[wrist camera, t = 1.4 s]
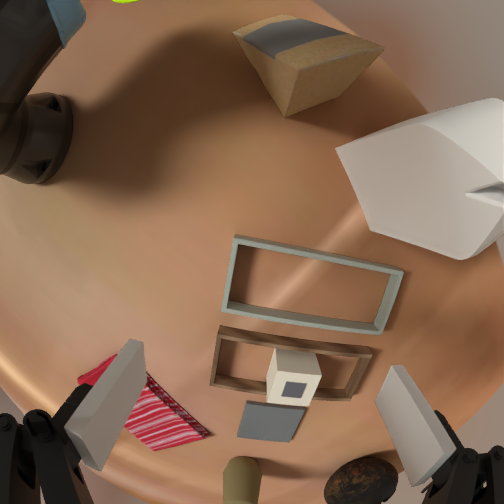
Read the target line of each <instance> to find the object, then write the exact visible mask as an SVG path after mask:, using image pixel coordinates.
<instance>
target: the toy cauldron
mask: <svg viewBox="0 0 504 504" xmlns="http://www.w3.org/2000/svg"><path fill="white" fill-rule="evenodd" d="M112 1H114V2H117V3H131V2H135V1H139V0H112Z"/></svg>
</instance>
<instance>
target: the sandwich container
mask: <svg viewBox="0 0 504 504" xmlns="http://www.w3.org/2000/svg"><path fill="white" fill-rule="evenodd" d="M232 33H233V35H234V36H235V38H236V39H237V41H238V43H239V44H240V46H241V48H242V49H243V51H244V53H245V54H246V56H247V58H248V59H249V61H250V63H251V64H252V66H253V67H255V68H254V69H256V70H255V71H257V72H258V73H257V74H259V75H258V76H259V77H260V79H262V80H261V81H262V82H263V84H264V86H265V88H266V89H267V91H268V92H269V94H270V95H271V97H272V99H273V100H274V102H275V103H276V105H277V107H278V108H279V110H280V111H281V113H282V115H283V117H284V118H285V117H288V116H290V115H293V114H295V113H298V112H300V111H303V110H305V109H308V108H310V107H313V106H316V105H318V104H321V103H323V102H326V101H329V100H332V99H334V98H337V97H339V96H340V95H341V94H342V93H343V92H344V91H345V90H346V89H347V88H348V87H349V86H350V85H351V84H352V83H353V82H354V81H355V80H356V79H357V78H358V77H359V76H360V75H361V74H362V72H363V71H364V70H365V69H366V68H367V67H368V66H369V65H370V64H371V63H372V62H373V61H374V60H375V59H376V58H377V57H378V56H379V55H380V54H381V53H382V52H383V51H384V47H383V46H380V45H378V44H376V43H373V42H371V41H368V40H365V39H363V38H360V37H357V36H354V35H351V34H348V33H345V32H342V31H339V30H336V29H333V28H330V27H328V26H324V25H321V24H318V23H314V22H311V21H307V20H303V19H300V18H296V17H292V16H289V15H285V14H283V15H279V16H275V17H271V18H268V19H264V20H261V21H258V22H255V23H252V24H250V25H247V26H245V27H242V28H240V29H237V30H235V31H233V32H232Z"/></svg>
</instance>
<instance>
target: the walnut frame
mask: <svg viewBox="0 0 504 504" xmlns="http://www.w3.org/2000/svg"><path fill="white" fill-rule="evenodd" d="M222 339H227V340H232V341H237V342H242V343H248V344H254V345H260V346H266V347H272V348H279V349H286V350H293V351H301V352H309V353H317V354H327V355H337V356H348V357H360V358H359V360H358V362H357V364H356V367H355V369H354V371H353V373H352V375H351V377H350V379H349V382H348V384H347V386H346V388H345V389H326V388H316V391H315V393H314V395H313V397H312V399H311V400H327V401H350V400H351V398H352V396H353V394H354V392H355V391H356V389H357V387H358V385H359V383H360V381H361V379H362V377H363V375H364V373H365V371H366V369H367V366H368V364H369V362H370V360H371V358H372V356H373V354H372V353H371V351H370V349H369V348H368V346H357V345H346V344H337V343H328V342H320V341H312V340H304V339H297V338H290V337H283V336H277V335H270V334H264V333H259V332H253V331H247V330H242V329H236V328H231V327H226V326H221V325H220V327H219V330H218V334H217V340H216V346H215V353H214V359H213V366H212V372H211V379H210V386H215V387H220V388H225V389H230V390H236V391H242V392H248V393H255V394H262V395H267V382H260V381H253V380H247V379H241V378H235V377H230V376H224V375H219V374H216V371H217V365H218V359H219V353H220V347H221V341H222Z"/></svg>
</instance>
